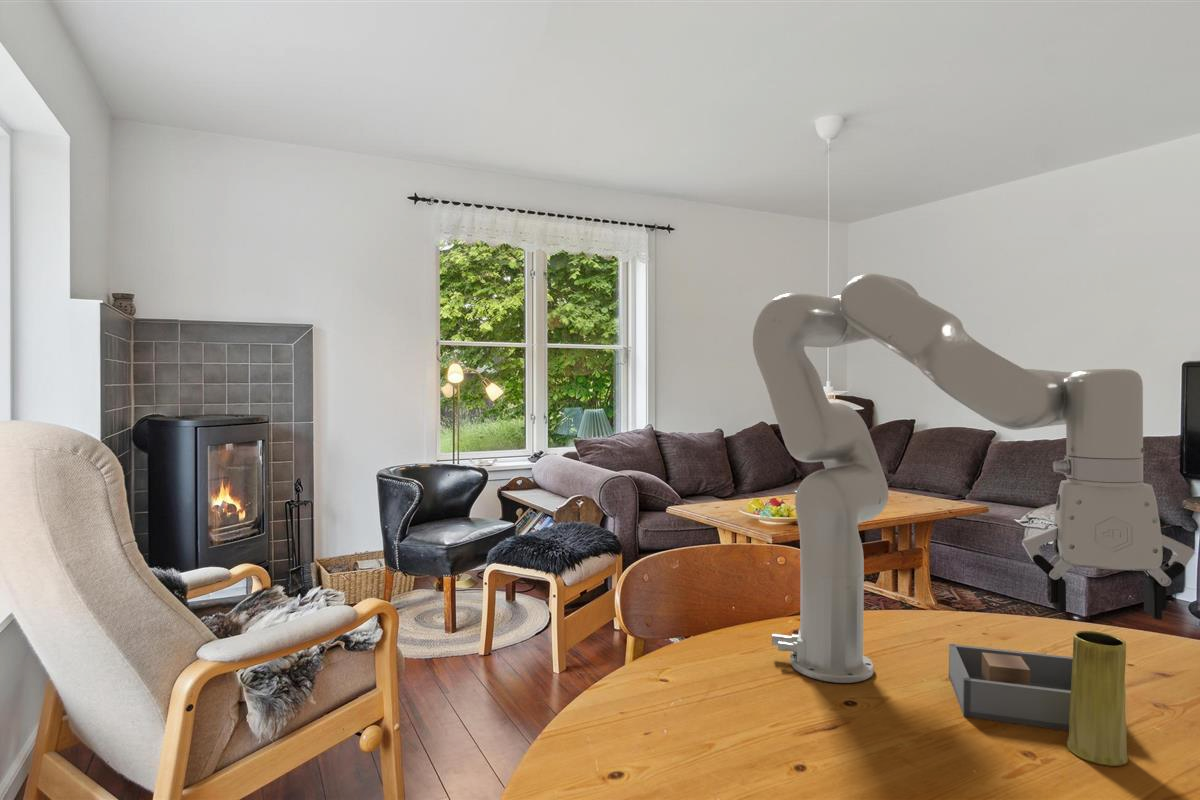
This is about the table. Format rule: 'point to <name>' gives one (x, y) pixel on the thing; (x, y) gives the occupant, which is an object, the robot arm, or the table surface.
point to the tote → (1013, 688)
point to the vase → (1098, 699)
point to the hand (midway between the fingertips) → (1105, 612)
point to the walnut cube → (1005, 669)
